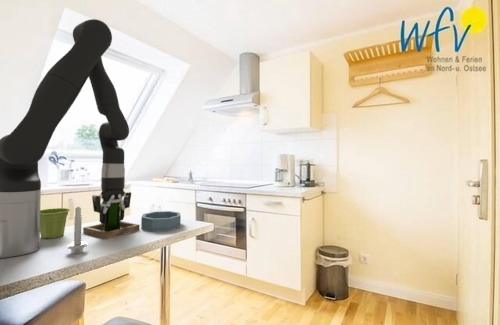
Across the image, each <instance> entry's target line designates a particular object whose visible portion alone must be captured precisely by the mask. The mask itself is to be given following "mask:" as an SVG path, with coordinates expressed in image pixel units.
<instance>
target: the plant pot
mask: <svg viewBox="0 0 500 325" xmlns="http://www.w3.org/2000/svg"><path fill="white" fill-rule="evenodd" d="M70 210H71V209H70V208H67V207H66V208H65V207H63V208H62V207H58V208H57V207H54V208H46V209H40V239H43V240H44V239H55V238H60V237H62V236H63V235H64V234H65V228H66V223H67V218H68V215H69V212H70Z"/></svg>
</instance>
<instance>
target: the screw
mask: <svg viewBox="0 0 500 325" xmlns="http://www.w3.org/2000/svg"><path fill="white" fill-rule="evenodd" d="M74 209H75V210H74V211H75V214H74V217H73V218H74V219H73V220H74V223H73V224H74V225H73V228H74V231H73V233H74V234H73V242H71V243H69V244H68V245H67V246H66V248H67V249H70V251H71V252H70V253H71V254H73V255H76V254H77V255H78V254H81V253H84V248H86V247H88V243H87V242H86V241H82V233H83V231H82V230H83V228H82V220H83V219H82V216H83V215H82V208H81V207H80V206H76V207H75V208H74Z"/></svg>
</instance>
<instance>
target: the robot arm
mask: <svg viewBox="0 0 500 325" xmlns="http://www.w3.org/2000/svg"><path fill="white" fill-rule="evenodd" d="M72 38H73V41H74V42H73V43H74V44H73V45H72V47H71V48H70V49H69V50H68V51H67V52H66V53H65V54H64V55H63V56H62V57H61V58H60V59H59V60H57V62H56V63H55V64H53V65H52V66H51V67H50V69H49V70H48V71H47V72H46V74H45V76H44V77H43V78H42V79H41V81H40V83H39V84H38V86H37V88H36V90H35V92H34V94H33V97H32V100H31V103H30V106H29V108H28V111H27V112H26V114H25V116H23V119H21V121H20V122H19V123H18V125H17V126H16V127H15V128H14V129H13V131H11V133H9V134H5V136H2V137H1V138H0V259H4V258H10V257H11V258H12V257H17V256H24V255H28V254H31V253H34V252H36V251H38V250H39V249H40V247H41V246H40V244H41V235H40V210H41V199H42V198H41V190H42V181H41V178H40V175H39V161H40V160H41V159H42V158H43V156H44V155H45V152H46V150H47V147H48V146H49V143H50V142H51V139H52V137H53V134H54V132H55V131H56V129H57V127H58V126H59V124H60V123H61V122H62V120H63V118H64V117H65V116H66V114H67V113H68V111H69V110H70V109H71V108H72V106H73V104H74V102H76V99H77V98H78V96H79V94H80V93H81V91H82V89H83V87H84V86H85V84H86V82H87V80H88V79H89V82H90V85H91V88H92V91H93V96H94V100H95V104H96V108H97V112H98V113H99V114H100V115H102V116H105V118H106V120H107V121H105V122H102V124H101V125H100V126H99V130H98V137H99V142H100V147H101V150H102V165H101V166H102V167H101V175H100V176H101V177H100V178H101V180H100V181H101V183H100V185H101V186H100V188H101V193H100V194H96V195H95V194H93V195H92V196H91V199H92V207H93V208H92V209H93V212H95V213H98V215H99V223H100V224H106V220H107V213H106V212H107V209H108V208H109V207H110V203H111V200H113V199H120V201H121V221H123V220H124V218H125V210H126V209H128V208H130V205H131V198H132V192H131V191H125V190H124V189H125V187H126V186H125V183H126V182H125V181H126V180H125V175H126V174H125V173H126V168H125V150H124V149H123V147H119V142H118V141H125V140H126V139H127V138H128V137H129V134H130V128H129V124H128V122H127V120H126V118H125V115H124V113H123V111H122V110H121V107H120V104H119V98H118V94H117V91H116V88H115V86H114V84H113V82H112V80H111V79H110V76H109V75H108V73H107V71H106V69H105V67H104V63H103V58H102V57H103V55H104V54H105V53H106V51H107V50H109V48H110V47H111V46H112V43H113V42H112V41H113V34H112V31H111V29H110V27H109V26H108V25H107V24H106V23H105V22H104V21H102V20H101V19H96V18H95V19H92V18H91V19H87V20H85V21H83V22H80V23H78V24H77V25H76V26H75V27H74V28H73V30H72ZM101 200H102V201H101ZM104 202H107V204H104Z"/></svg>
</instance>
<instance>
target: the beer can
mask: <svg viewBox="0 0 500 325" xmlns="http://www.w3.org/2000/svg"><path fill="white" fill-rule="evenodd" d="M104 204H107V202H104ZM106 213H107V220H106V224H104V229H103V231H106V232H109V231H113V230H117V229H121V227H120V223H121V221H122V220H121V201H120V199H113V200H111V203H110V207H109V208H108V209H107V212H106Z"/></svg>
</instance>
